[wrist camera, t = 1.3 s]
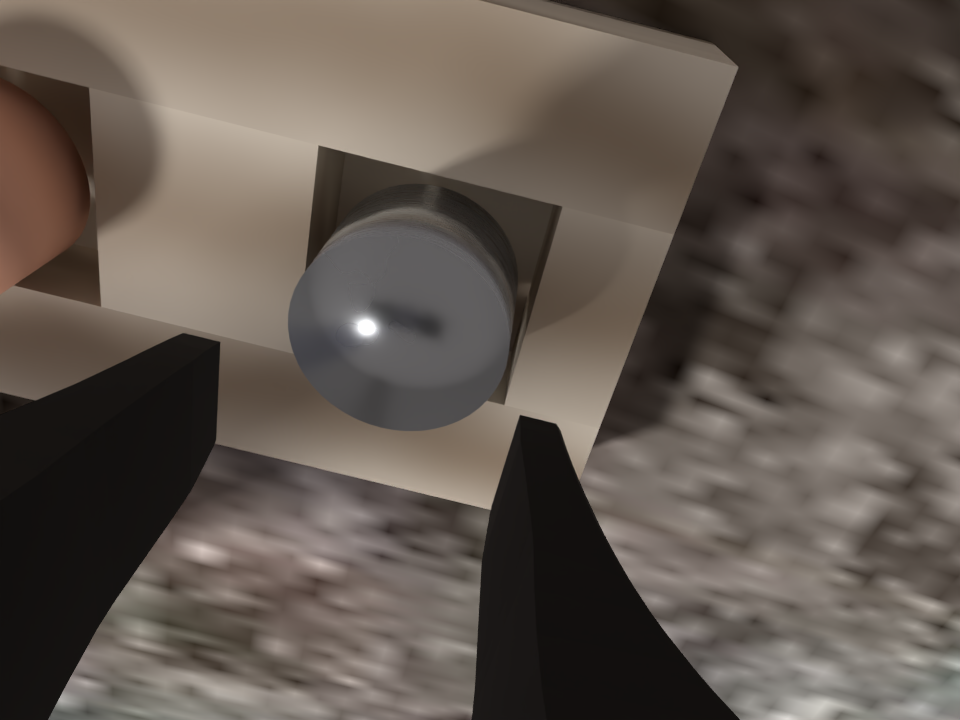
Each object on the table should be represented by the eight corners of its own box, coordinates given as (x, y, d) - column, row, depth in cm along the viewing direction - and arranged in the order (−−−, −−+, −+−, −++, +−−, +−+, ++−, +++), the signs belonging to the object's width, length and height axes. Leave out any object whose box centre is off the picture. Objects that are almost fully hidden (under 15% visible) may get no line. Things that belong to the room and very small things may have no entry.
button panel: (562, 457, 23) (561, 526, 20) (-93, 298, 22) (-179, 349, 20) (712, 42, 16) (738, 67, 14) (-196, -193, 16) (-342, -212, 13)
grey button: (493, 377, 19) (481, 452, 16) (319, 334, 18) (279, 403, 16) (540, 211, 16) (534, 268, 14) (341, 162, 16) (298, 209, 14)
